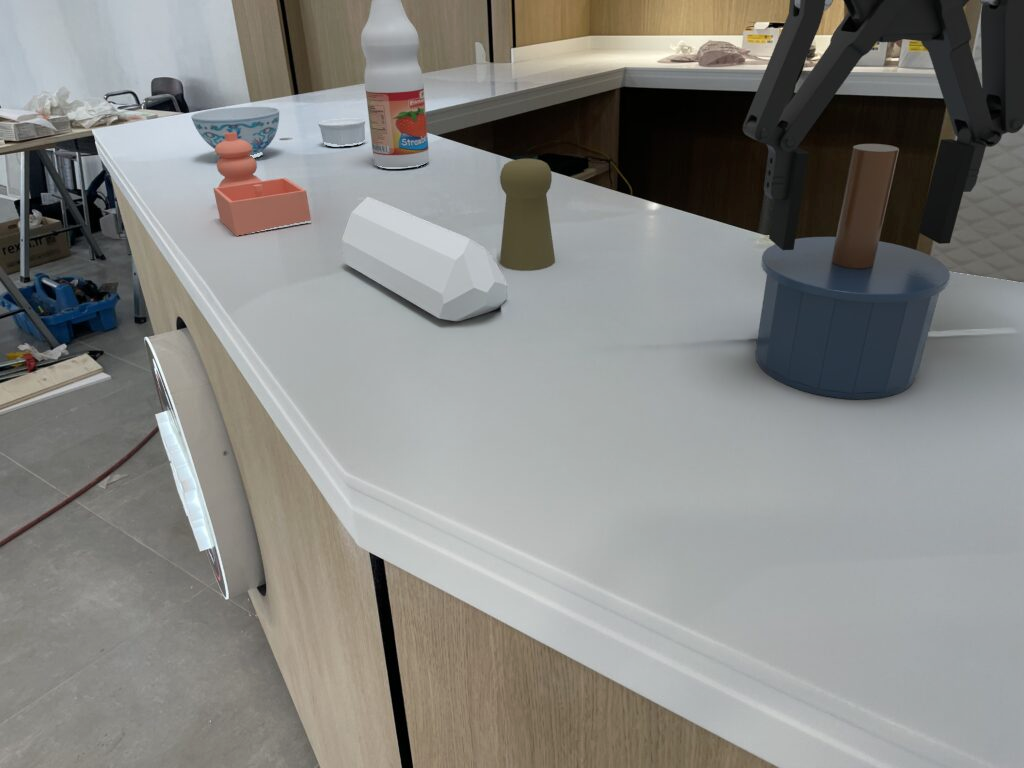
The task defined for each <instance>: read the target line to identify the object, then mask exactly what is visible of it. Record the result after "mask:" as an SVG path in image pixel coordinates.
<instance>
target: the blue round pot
mask: <svg viewBox="0 0 1024 768" xmlns="http://www.w3.org/2000/svg"><path fill="white" fill-rule="evenodd" d="M939 295H940V293H938V294H936V295H934V296H931V297H928V298H924V299H920V300H914V301H907V302H891V303H875V302H858V301H848V300H840V299H834V298H828V297H823V296H818V295H814V294H810V293H806V292H803V291H800V290H797V289H794V288H791V287H789V286H786V285H784V284H782V283H780V282H778V281H776V280H774V279H773V278H771V277H770V276H769V275H767V274H766V277H765V286H764V291H763V299H762V305H761V313H760V320H759V326H758V332H757V333H758V334H757V340H756V347H755V359H756V362H757V364H758V366H759V367H760V368H761V369H762V370H763V371H764V372H765V373H766V374H768V375H769V376H770V377H771V378H773V379H775V380H777V381H779V382H780V383H782V384H784V385H786V386H789V387H791V388H794V389H797V390H800V391H802V392H803V391H804V392H807V393H809V394H810V393H811V394H814V395H817V396H818V395H819V396H823V397H830V398H836V399H846V400H872V399H881V398H887V397H891V396H894V395H897V394H900V393H902V392H903V391H905V390H907V389H908V388H910V387H911V386H912V385H913V383H914V382H915V379H916V376H917V374H918V373H919V370H920V366H921V363H922V360H923V355H924V351H925V347H926V345H927V344H926V343H927V340H928V337H929V332H930V329H931V325H932V322H933V317H934V314H935V311H936V307H937V303H938V300H939Z"/></svg>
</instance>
